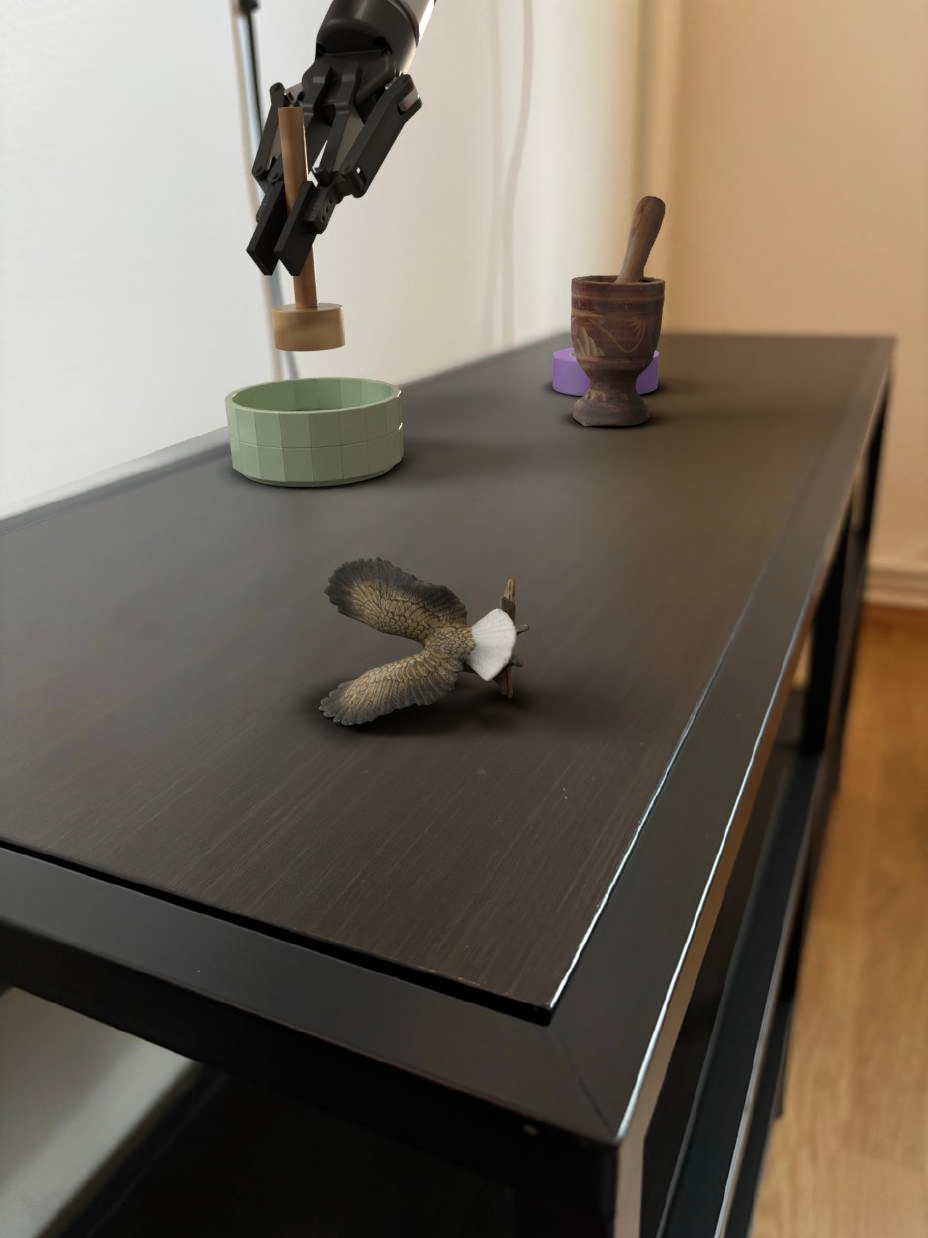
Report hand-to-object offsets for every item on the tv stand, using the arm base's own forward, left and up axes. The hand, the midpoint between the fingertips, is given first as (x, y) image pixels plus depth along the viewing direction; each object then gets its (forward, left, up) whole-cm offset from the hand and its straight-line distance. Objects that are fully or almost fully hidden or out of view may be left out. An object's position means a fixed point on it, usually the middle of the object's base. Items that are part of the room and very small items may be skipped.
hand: (273, 262), depth 73 cm
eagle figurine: (+14, -36, -17) cm, 43 cm away
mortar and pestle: (+27, +22, -17) cm, 39 cm away
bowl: (+1, +4, -16) cm, 17 cm away
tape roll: (+27, +36, -17) cm, 48 cm away
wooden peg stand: (+1, +4, -7) cm, 8 cm away
